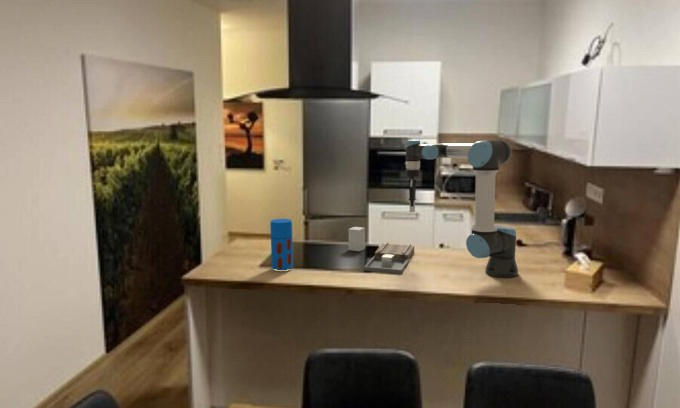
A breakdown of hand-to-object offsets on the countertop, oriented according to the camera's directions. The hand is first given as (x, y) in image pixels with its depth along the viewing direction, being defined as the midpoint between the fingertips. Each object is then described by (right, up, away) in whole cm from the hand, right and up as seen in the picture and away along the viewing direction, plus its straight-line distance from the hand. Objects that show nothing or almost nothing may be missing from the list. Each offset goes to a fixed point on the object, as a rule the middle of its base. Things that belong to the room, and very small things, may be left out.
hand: (412, 211), depth 274 cm
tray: (-15, -28, -17) cm, 36 cm away
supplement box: (-30, -22, +17) cm, 41 cm away
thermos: (-69, -29, -19) cm, 77 cm away
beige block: (-15, -24, -15) cm, 32 cm away
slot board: (-9, -24, +3) cm, 26 cm away
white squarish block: (-14, -26, -13) cm, 33 cm away
